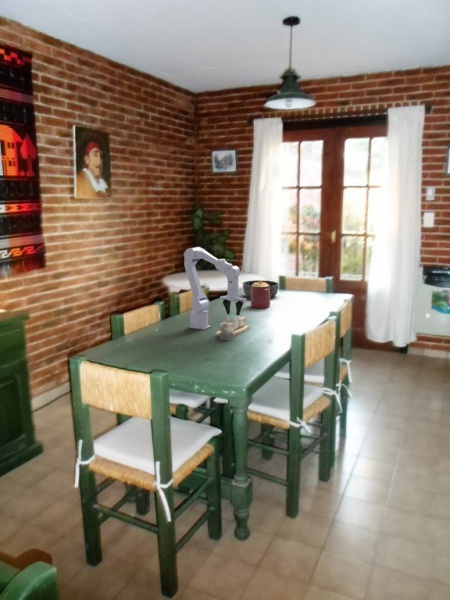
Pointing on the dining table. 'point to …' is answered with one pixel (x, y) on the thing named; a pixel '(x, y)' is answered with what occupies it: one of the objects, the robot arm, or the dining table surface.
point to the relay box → (226, 336)
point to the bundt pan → (272, 285)
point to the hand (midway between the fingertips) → (233, 314)
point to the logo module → (234, 320)
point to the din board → (230, 327)
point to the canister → (260, 295)
